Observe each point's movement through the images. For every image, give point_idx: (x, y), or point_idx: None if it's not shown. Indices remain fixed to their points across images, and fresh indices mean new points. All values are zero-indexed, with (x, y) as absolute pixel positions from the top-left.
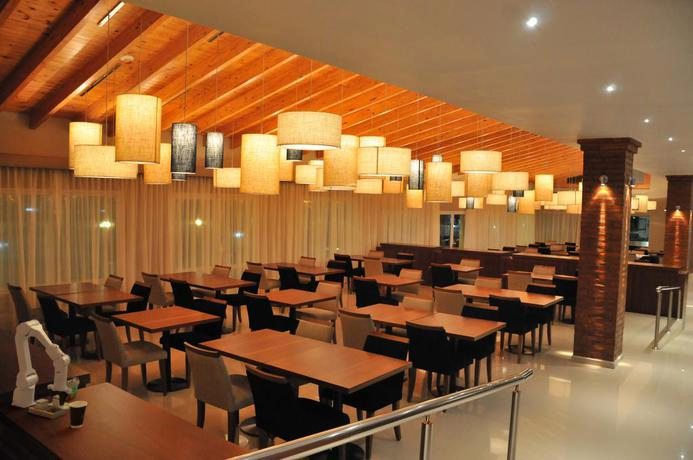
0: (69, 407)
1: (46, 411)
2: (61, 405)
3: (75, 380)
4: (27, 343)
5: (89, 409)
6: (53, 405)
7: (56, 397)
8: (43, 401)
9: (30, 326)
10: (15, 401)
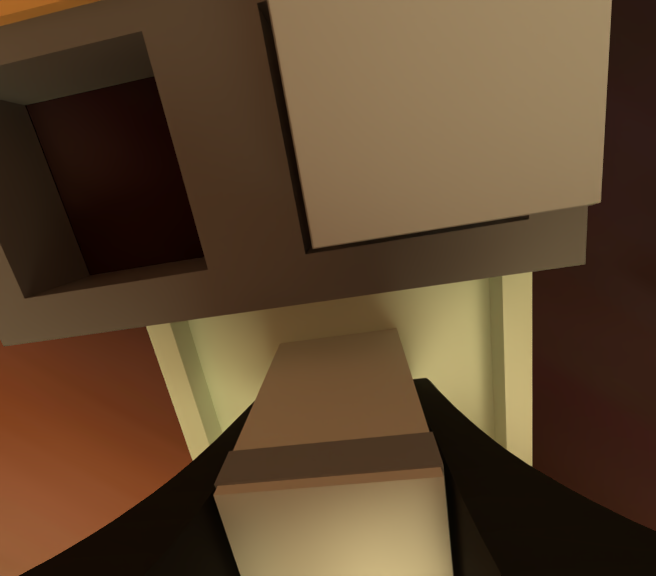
0: (198, 452)
1: (92, 39)
2: None
3: None
4: None
5: (72, 542)
6: (376, 351)
7: (304, 484)
8: (311, 45)
9: None
10: None
